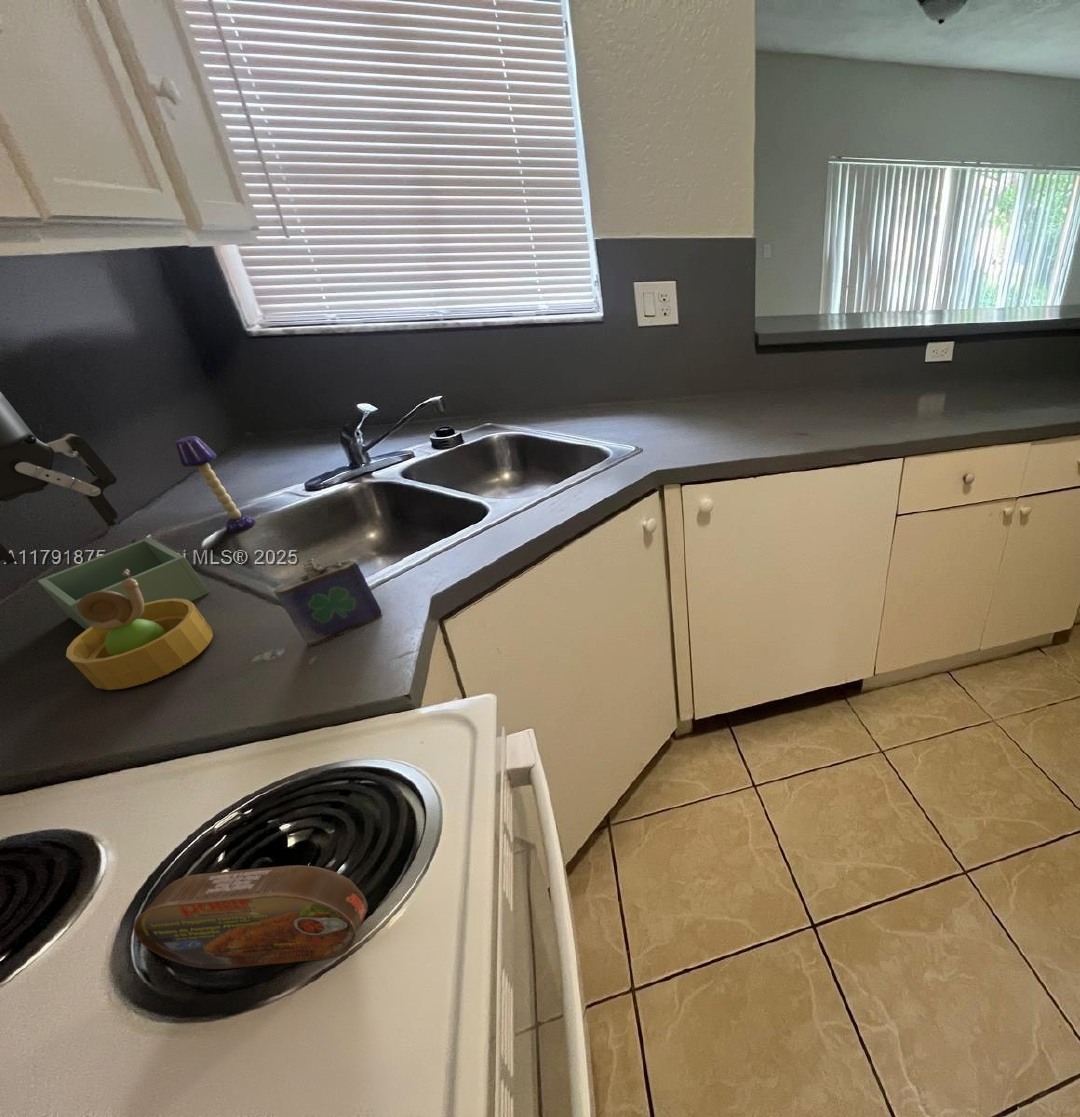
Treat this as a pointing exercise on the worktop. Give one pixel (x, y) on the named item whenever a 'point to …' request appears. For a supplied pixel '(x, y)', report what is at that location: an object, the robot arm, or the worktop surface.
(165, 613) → the bowl
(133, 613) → the snail figurine
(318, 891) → the tin
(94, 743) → the worktop surface
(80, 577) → the bin
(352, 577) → the clover box
